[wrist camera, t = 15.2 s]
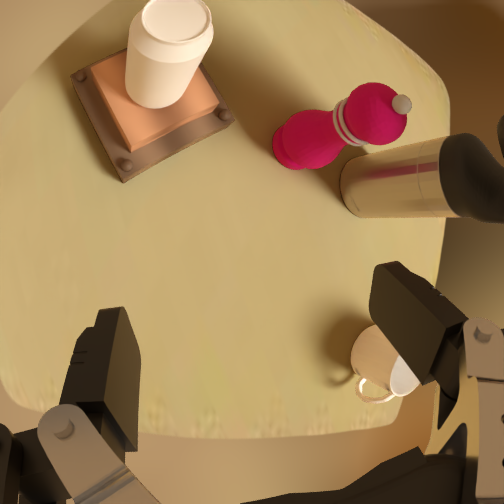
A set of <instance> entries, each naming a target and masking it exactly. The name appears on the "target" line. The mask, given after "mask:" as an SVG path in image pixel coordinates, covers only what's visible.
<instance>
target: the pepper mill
mask: <svg viewBox="0 0 504 504" xmlns="http://www.w3.org/2000/svg"><path fill="white" fill-rule="evenodd" d="M411 108H412V103H411V101H410V99H409V98H408V97H407V96H405V95H398V94H397V93H396V92H395V91H394V90H393V89H391V88H390V87H389V86H387V85H384V84H381V83H366V84H363V85H360V86H358V87H357V88H356V89H354V90H353V91H352V92H351V94H350V96H349V97H348V98H346V99H344V100H341V101H340V102H338V103H337V104H336V106H335V108H334V110H333V111H321V110H305V111H301V112H299V113H296V114H294V115H293V116H291V117H290V118H289V119H288V121H287V122H286V124H285V125H283V126H281V127H280V128H279V129H278V130H277V131H276V132H275V134H274V136H273V142H272V146H273V151H274V154H275V156H276V158H277V159H278V161H279V162H280V163H281V164H282V165H284V166H285V167H287V168H289V169H293V170H300V169H303V168H308V169H318V168H321V167H323V166H325V165H327V164H329V163H331V162H332V161H333V160H334V159H335V158H336V157H337V156H338V155H339V153H340V152H341V150H342V149H343V147H344V146H346V145H348V144H350V145H353V146H362V145H365V144H369V143H370V144H373V145H385V144H389V143H391V142H393V141H395V140H396V139H398V138H399V137H400V136H401V134H402V133H403V132H404V129H405V127H406V123H407V113H409V112H410V110H411Z"/></svg>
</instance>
